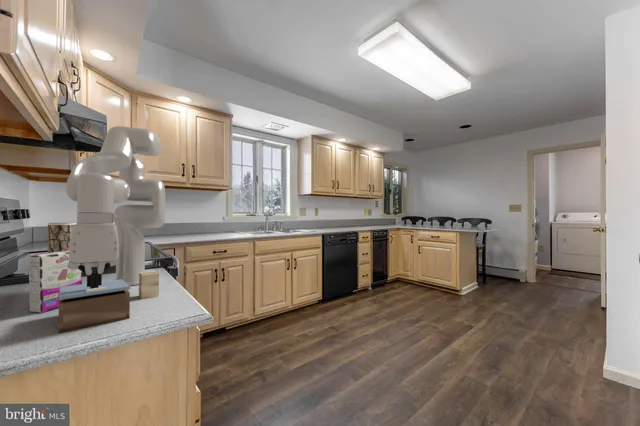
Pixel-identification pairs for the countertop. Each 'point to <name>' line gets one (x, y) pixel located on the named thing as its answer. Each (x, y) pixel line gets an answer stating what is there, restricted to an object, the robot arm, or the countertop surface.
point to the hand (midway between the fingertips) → (94, 288)
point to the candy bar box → (49, 279)
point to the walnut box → (93, 310)
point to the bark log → (59, 236)
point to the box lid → (83, 290)
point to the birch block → (148, 284)
